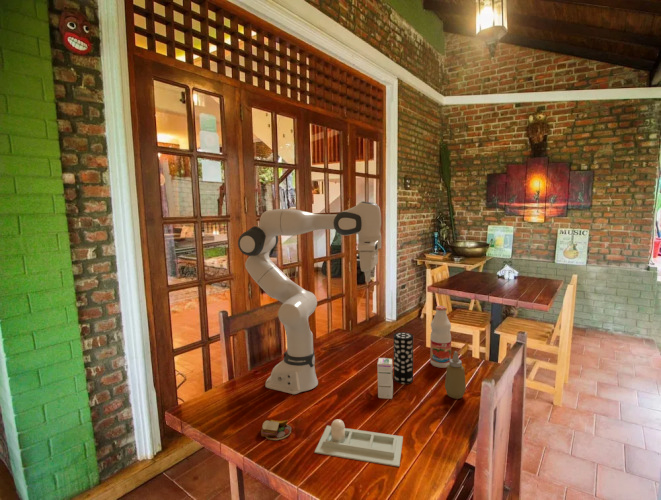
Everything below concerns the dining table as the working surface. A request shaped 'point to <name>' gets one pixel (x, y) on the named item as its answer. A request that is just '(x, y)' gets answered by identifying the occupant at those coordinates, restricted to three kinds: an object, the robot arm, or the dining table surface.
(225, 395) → the dining table surface
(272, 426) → the toy sandwich meal
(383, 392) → the syrup box
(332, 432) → the egg
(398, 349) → the white-spotted black cylinder
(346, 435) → the egg tray
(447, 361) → the fruit juice
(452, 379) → the squeeze bottle
